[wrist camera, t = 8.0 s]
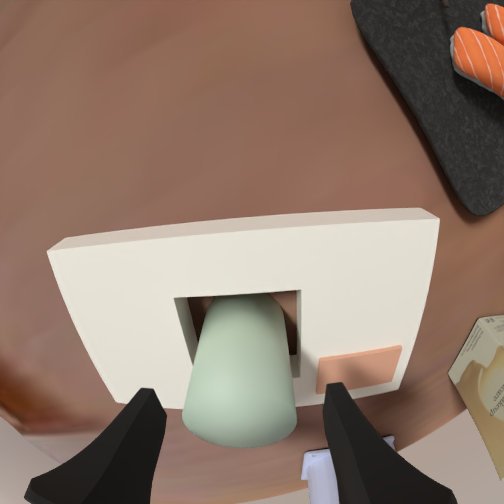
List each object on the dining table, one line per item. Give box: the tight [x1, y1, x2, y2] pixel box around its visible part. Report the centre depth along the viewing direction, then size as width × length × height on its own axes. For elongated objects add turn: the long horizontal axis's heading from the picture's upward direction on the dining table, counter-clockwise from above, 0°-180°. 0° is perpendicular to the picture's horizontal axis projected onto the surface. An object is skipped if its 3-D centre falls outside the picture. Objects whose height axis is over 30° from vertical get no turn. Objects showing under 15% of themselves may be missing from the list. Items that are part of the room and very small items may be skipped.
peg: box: [182, 292, 297, 448], centre depth 13 cm, size 4×4×7 cm
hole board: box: [47, 208, 440, 409], centre depth 15 cm, size 20×12×2 cm, turn 95°
